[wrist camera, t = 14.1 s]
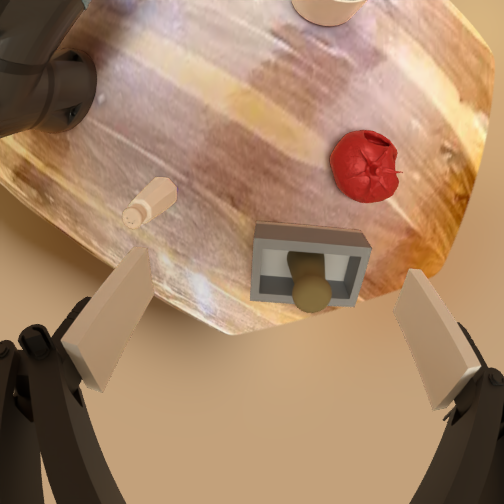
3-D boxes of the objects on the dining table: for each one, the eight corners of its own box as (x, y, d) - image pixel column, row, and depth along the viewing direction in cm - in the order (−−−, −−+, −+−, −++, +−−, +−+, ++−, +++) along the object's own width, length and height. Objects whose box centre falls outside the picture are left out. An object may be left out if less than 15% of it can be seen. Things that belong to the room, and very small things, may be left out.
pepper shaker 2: (281, 248, 44) (282, 291, 34) (318, 235, 42) (330, 276, 32) (293, 279, 46) (297, 325, 36) (328, 267, 45) (341, 311, 35)
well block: (347, 285, 47) (354, 306, 42) (252, 278, 48) (249, 300, 42) (360, 230, 42) (371, 248, 37) (256, 220, 43) (253, 237, 37)
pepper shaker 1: (141, 182, 41) (106, 205, 31) (171, 171, 40) (140, 192, 30) (154, 212, 43) (123, 243, 34) (183, 203, 42) (157, 233, 32)
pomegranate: (351, 206, 40) (369, 231, 32) (312, 154, 37) (323, 166, 29) (400, 169, 37) (429, 187, 29) (365, 114, 34) (390, 117, 26)
